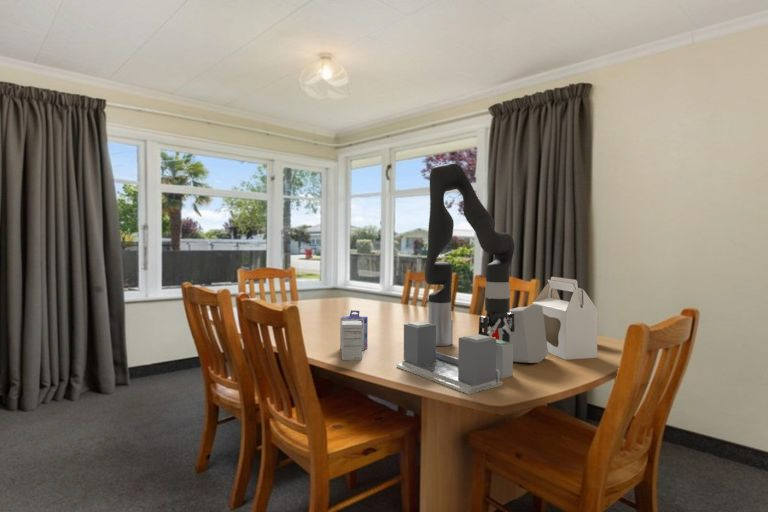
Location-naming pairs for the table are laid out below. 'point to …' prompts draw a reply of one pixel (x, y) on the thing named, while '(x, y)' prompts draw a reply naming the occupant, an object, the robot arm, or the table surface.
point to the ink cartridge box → (364, 327)
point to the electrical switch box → (527, 334)
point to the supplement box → (351, 340)
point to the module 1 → (419, 342)
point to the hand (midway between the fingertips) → (496, 347)
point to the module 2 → (477, 359)
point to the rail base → (447, 374)
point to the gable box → (569, 320)
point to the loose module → (504, 358)
